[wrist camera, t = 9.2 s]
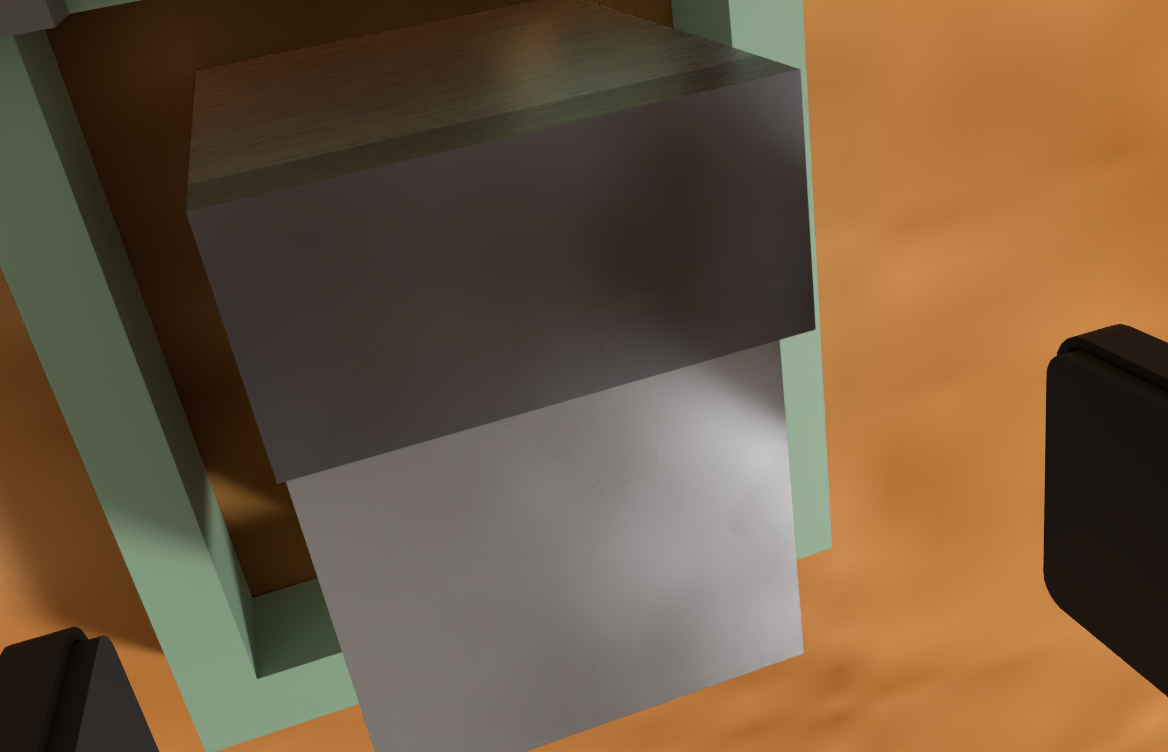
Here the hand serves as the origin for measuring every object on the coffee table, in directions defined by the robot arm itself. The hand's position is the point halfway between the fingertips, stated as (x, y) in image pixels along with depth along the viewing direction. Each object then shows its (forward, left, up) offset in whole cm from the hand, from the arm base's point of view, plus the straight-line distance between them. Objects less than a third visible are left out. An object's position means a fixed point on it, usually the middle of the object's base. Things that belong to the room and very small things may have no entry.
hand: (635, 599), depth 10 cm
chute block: (+1, 0, -7) cm, 7 cm away
